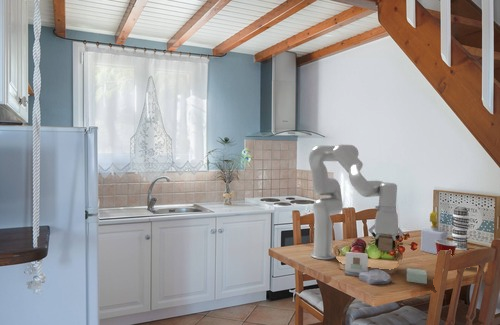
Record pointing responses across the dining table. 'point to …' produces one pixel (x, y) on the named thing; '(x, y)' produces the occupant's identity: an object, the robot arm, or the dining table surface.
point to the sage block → (416, 275)
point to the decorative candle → (460, 227)
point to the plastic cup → (445, 245)
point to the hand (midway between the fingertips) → (384, 247)
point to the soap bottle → (431, 236)
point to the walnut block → (385, 243)
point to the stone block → (375, 277)
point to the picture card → (355, 263)
